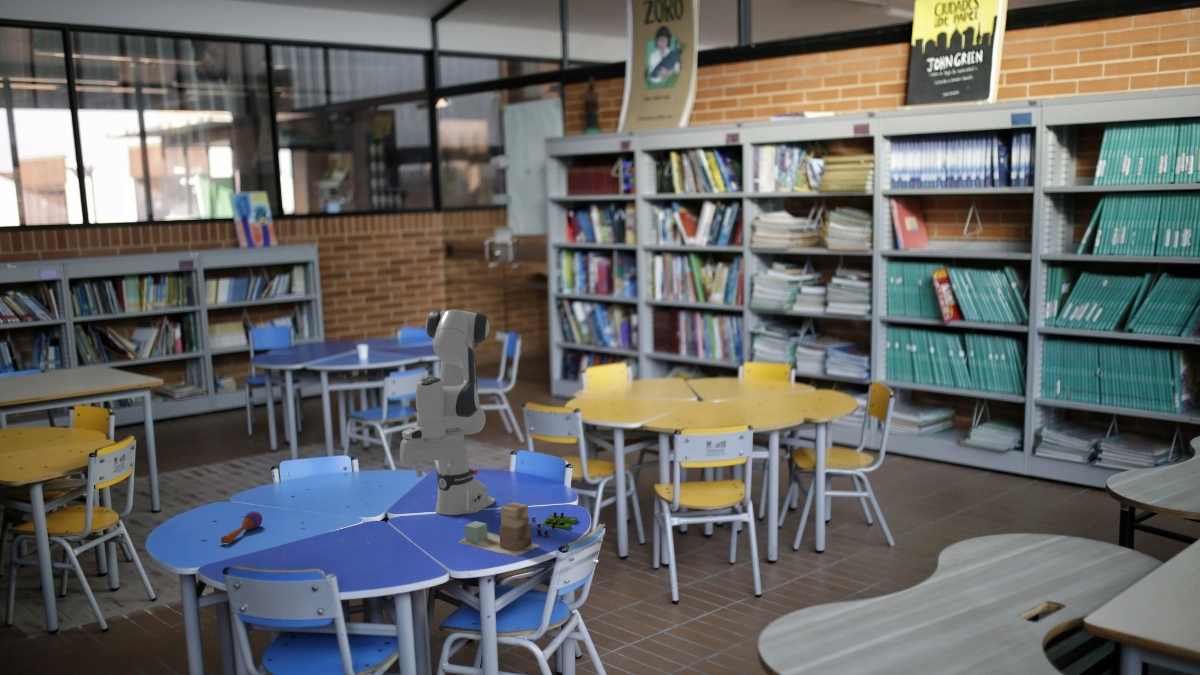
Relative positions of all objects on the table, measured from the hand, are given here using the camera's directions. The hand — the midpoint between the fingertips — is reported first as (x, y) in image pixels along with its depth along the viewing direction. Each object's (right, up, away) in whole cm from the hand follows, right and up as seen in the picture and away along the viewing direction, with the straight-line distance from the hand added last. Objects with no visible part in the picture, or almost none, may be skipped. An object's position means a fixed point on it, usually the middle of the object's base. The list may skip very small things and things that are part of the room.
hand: (433, 474), depth 303 cm
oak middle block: (+25, -16, +3) cm, 30 cm away
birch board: (+19, -24, +7) cm, 32 cm away
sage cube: (+12, -22, +11) cm, 28 cm away
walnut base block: (+25, -23, +4) cm, 34 cm away
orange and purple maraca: (-69, -25, +28) cm, 79 cm away
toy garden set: (+31, -22, +23) cm, 45 cm away
